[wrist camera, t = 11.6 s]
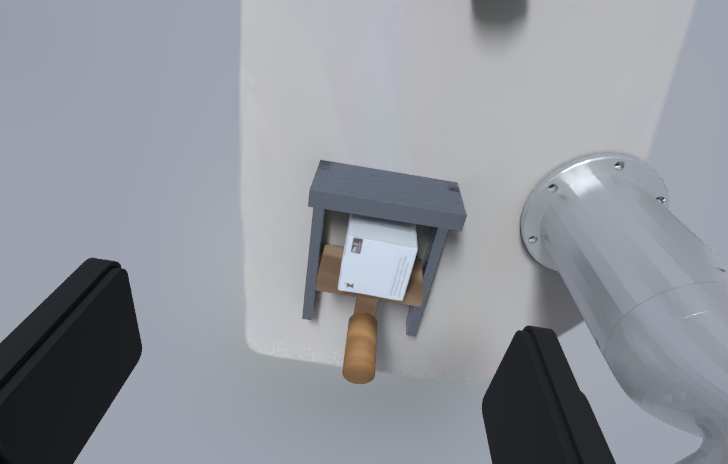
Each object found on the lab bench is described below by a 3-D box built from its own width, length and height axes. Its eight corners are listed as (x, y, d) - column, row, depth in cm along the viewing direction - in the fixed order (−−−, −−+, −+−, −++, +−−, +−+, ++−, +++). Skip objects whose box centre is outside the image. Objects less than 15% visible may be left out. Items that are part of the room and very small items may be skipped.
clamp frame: (414, 323, 49) (416, 364, 44) (305, 306, 48) (295, 346, 43) (457, 182, 39) (466, 215, 34) (320, 160, 38) (309, 190, 33)
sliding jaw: (408, 303, 47) (412, 392, 37) (319, 289, 46) (299, 375, 37) (420, 259, 43) (428, 344, 34) (325, 244, 43) (305, 325, 33)
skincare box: (402, 254, 44) (403, 303, 37) (344, 245, 43) (336, 292, 37) (415, 204, 40) (419, 248, 34) (353, 193, 40) (345, 236, 34)
